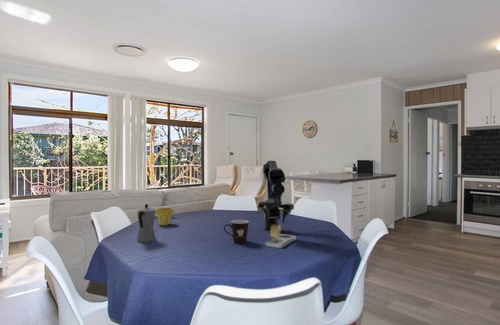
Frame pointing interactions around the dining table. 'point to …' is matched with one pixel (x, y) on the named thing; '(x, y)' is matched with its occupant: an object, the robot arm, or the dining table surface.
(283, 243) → the rail
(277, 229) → the golden block
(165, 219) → the plant pot
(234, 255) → the dining table surface
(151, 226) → the coffeepot
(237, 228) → the coffee mug
